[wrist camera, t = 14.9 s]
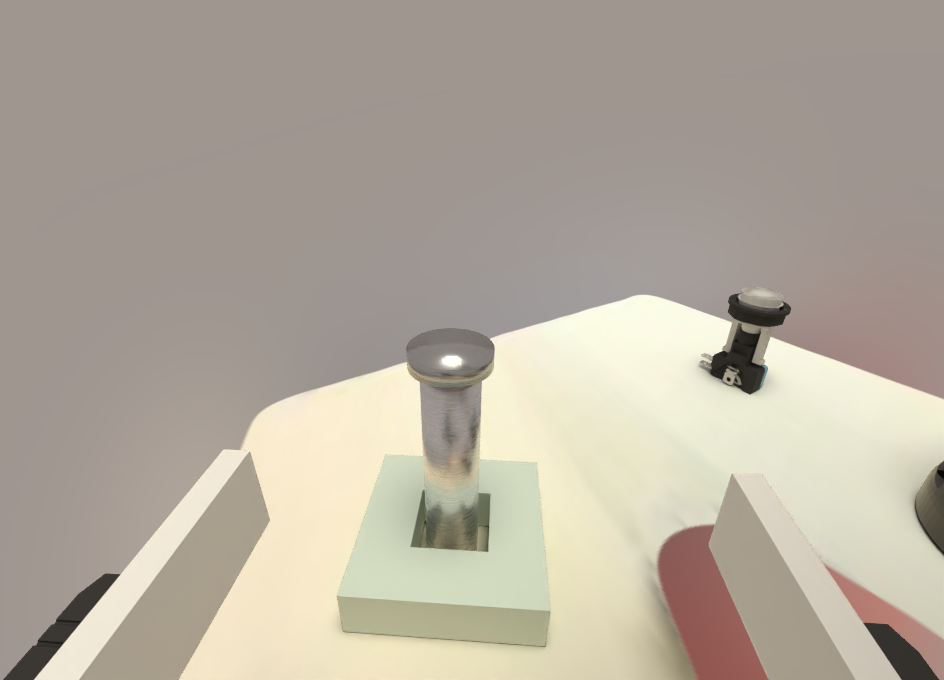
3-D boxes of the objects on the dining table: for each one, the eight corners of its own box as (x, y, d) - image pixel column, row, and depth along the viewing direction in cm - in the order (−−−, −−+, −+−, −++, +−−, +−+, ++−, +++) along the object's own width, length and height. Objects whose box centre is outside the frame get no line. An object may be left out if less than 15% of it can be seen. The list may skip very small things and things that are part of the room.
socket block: (533, 493, 35) (536, 462, 33) (545, 646, 25) (550, 611, 23) (388, 485, 35) (385, 454, 34) (343, 631, 25) (336, 596, 24)
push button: (686, 372, 51) (708, 286, 47) (713, 359, 54) (736, 277, 49) (746, 400, 46) (777, 308, 42) (773, 385, 49) (804, 296, 44)
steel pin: (487, 527, 32) (495, 330, 25) (484, 586, 28) (493, 371, 21) (423, 523, 32) (414, 326, 25) (412, 581, 28) (398, 367, 21)
